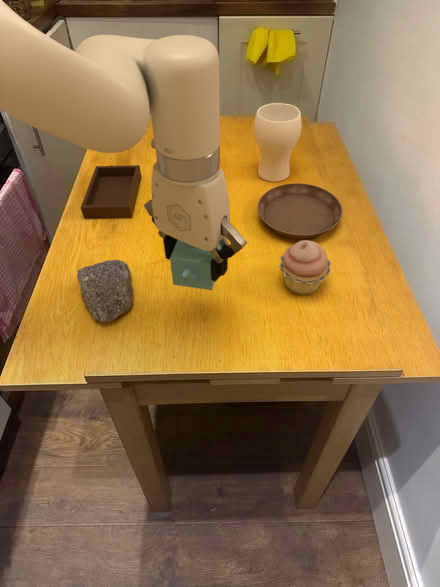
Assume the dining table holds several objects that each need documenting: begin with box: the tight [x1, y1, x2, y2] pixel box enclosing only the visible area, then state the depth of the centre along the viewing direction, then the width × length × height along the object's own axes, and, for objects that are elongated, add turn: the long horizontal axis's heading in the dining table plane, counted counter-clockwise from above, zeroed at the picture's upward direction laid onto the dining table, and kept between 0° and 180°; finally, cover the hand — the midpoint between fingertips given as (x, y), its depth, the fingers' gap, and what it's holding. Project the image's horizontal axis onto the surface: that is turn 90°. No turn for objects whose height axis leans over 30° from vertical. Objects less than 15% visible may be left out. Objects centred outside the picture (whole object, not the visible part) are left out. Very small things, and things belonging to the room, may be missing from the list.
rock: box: [76, 259, 134, 323], centre depth 73 cm, size 12×5×10 cm
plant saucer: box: [257, 182, 344, 240], centre depth 87 cm, size 18×18×3 cm
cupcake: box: [278, 239, 332, 296], centre depth 72 cm, size 9×9×10 cm
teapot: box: [169, 240, 221, 291], centre depth 61 cm, size 12×6×8 cm, turn 168°
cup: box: [253, 102, 303, 182], centre depth 95 cm, size 11×11×15 cm
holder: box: [80, 164, 142, 220], centre depth 94 cm, size 17×11×3 cm, turn 0°
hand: (195, 264), depth 62 cm, fingers closed on teapot, 7 cm apart
